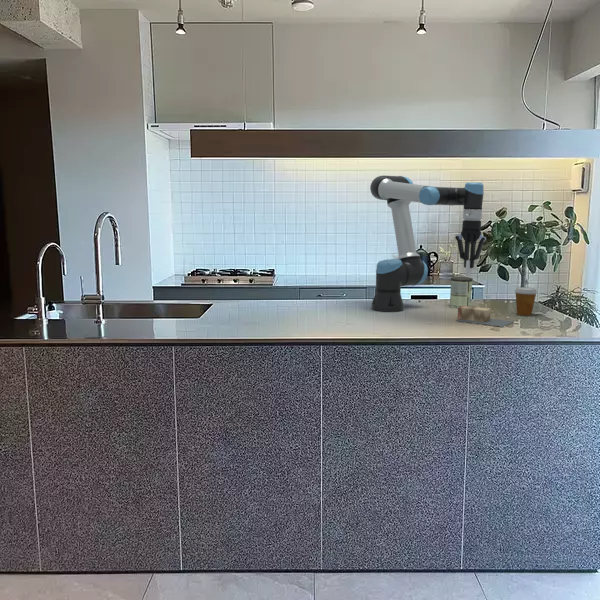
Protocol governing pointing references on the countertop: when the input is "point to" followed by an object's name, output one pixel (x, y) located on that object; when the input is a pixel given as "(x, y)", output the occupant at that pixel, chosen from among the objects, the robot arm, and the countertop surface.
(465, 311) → the oak block
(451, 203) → the robot arm
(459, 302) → the lidded glass jar
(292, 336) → the countertop surface
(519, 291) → the disposable coffee cup
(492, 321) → the mat
